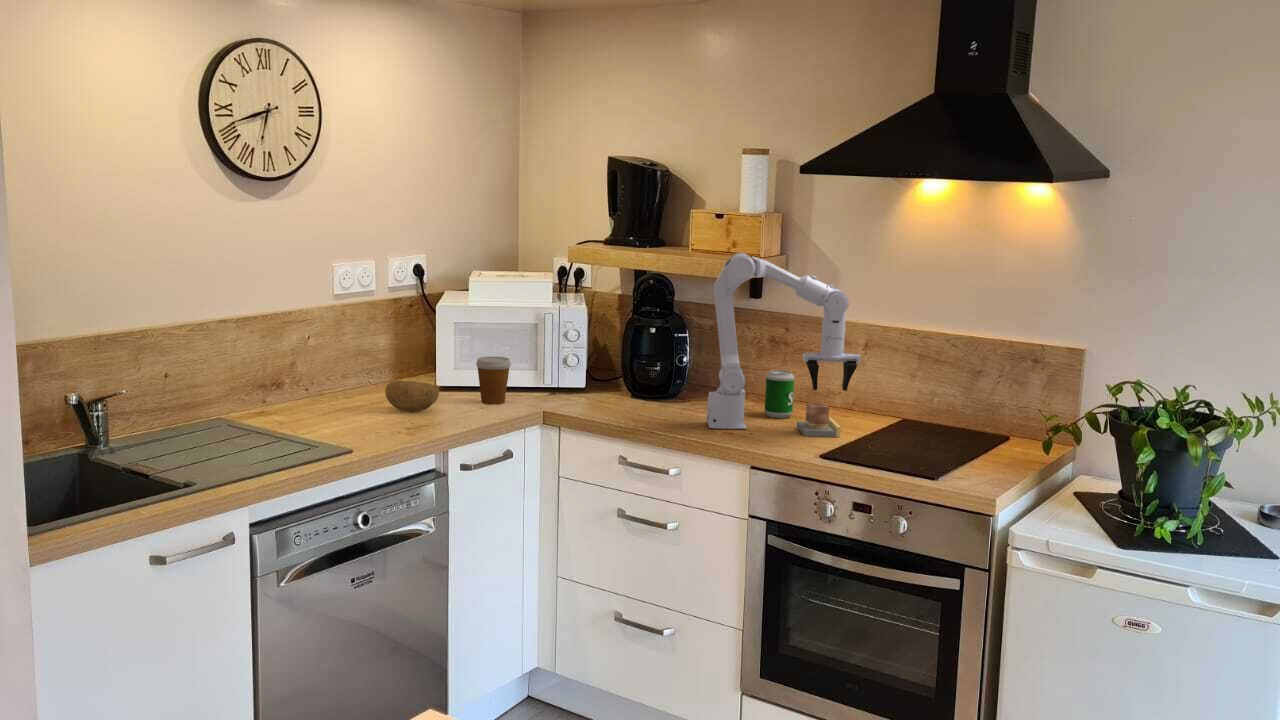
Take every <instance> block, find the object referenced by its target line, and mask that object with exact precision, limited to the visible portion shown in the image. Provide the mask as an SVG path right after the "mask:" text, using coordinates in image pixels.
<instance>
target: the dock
mask: <svg viewBox="0 0 1280 720" xmlns="http://www.w3.org/2000/svg"><path fill="white" fill-rule="evenodd" d="M828 425H829V426H828V430H827V429H810V428H809V427H808V426H807V425H806V424H805V421H796V428H797V429H798V431H799V430H800V431H801V432H800V431H799V432H800V433H801V434H802V435H803V436H804V437H807V436H809V437H810V436H811V437H813V438H816V437H817V438H818V437H819V438H822V437H823V438H841V432H842V431H841V429H842V428H841V427H842V426H841V425H840V424H838V423H837V422H836V421H835V420H834V418H832V417H829V419H828Z"/></svg>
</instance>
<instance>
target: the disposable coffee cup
mask: <svg viewBox="0 0 1280 720" xmlns="http://www.w3.org/2000/svg"><path fill="white" fill-rule="evenodd" d="M475 365H476V368H477V375H478V382H479V391H480V393H479V394H480V398H481V399H480V400H481V401H480V402H481V403H482V404H483V405H484V404H485V405H491V404H496V405H502V403H503V404H504V403H506V402H505V401H506V395H507V389H508V388H507V386H508V379H509V375H510V374H509V373H510V368H511V366H512V363H511V360H510V358H508V357H504V356H482V357H477V361H476V363H475Z"/></svg>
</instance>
